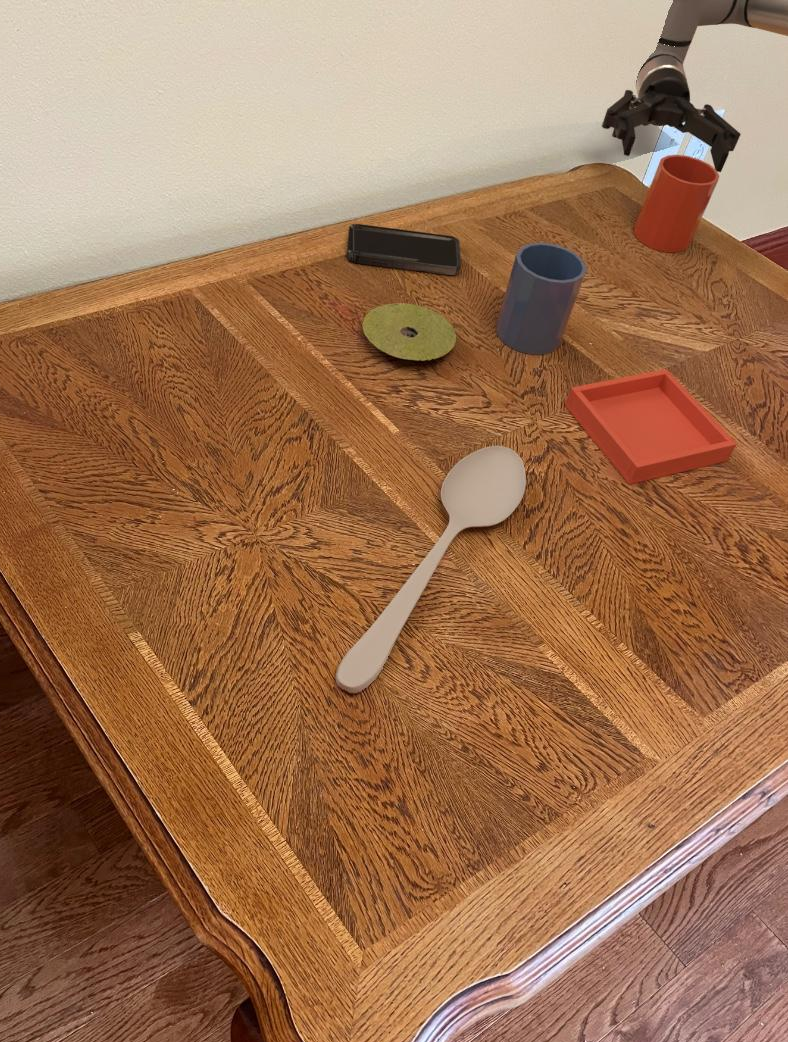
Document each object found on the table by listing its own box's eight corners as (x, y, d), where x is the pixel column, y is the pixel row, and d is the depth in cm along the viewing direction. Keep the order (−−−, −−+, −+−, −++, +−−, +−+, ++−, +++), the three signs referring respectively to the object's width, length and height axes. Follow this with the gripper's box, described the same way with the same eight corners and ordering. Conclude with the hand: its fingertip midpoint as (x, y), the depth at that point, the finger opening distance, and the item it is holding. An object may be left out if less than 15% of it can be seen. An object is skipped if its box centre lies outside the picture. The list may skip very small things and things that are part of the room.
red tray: (727, 461, 106) (737, 444, 104) (628, 485, 101) (637, 467, 99) (658, 386, 113) (666, 368, 111) (564, 405, 109) (570, 387, 107)
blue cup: (572, 349, 116) (599, 277, 108) (516, 359, 113) (539, 286, 106) (539, 310, 120) (562, 239, 113) (484, 319, 118) (504, 246, 110)
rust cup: (700, 249, 135) (731, 181, 127) (654, 255, 132) (682, 187, 125) (667, 219, 140) (695, 152, 132) (622, 225, 137) (648, 157, 129)
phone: (349, 222, 126) (459, 236, 127) (348, 230, 127) (457, 244, 128) (347, 254, 121) (461, 269, 122) (346, 262, 122) (459, 276, 123)
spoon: (471, 450, 102) (476, 432, 100) (538, 479, 100) (544, 461, 98) (302, 679, 82) (304, 663, 80) (381, 722, 80) (385, 706, 78)
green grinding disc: (358, 312, 116) (360, 298, 114) (447, 319, 117) (450, 305, 115) (363, 369, 109) (365, 355, 107) (458, 376, 110) (461, 362, 108)
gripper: (729, 129, 152) (749, 194, 139) (577, 102, 152) (583, 164, 138) (750, 81, 146) (773, 143, 133) (593, 53, 146) (599, 112, 133)
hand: (676, 154), depth 136 cm, fingers open, 13 cm apart
